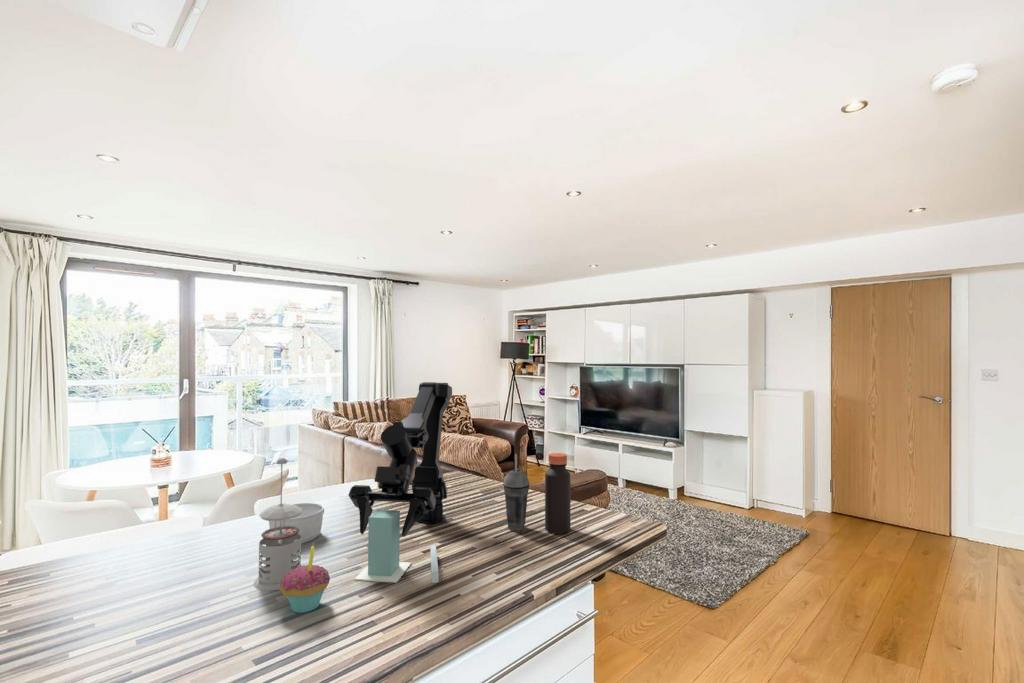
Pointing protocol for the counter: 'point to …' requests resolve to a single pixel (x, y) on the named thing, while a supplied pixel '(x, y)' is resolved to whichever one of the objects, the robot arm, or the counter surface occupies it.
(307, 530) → the ramekin
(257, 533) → the counter surface
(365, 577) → the resting pad
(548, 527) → the bottle
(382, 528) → the sage block
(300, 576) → the cupcake
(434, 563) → the acrylic strip
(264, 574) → the french press
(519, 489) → the beverage cup
